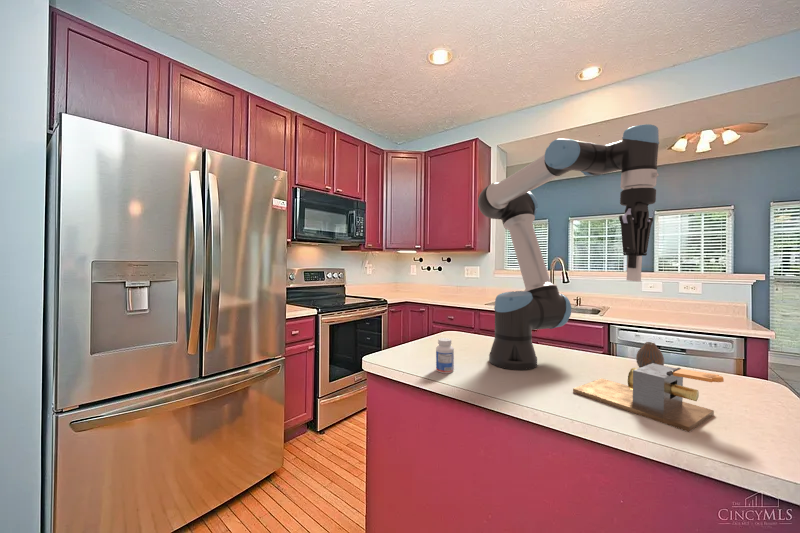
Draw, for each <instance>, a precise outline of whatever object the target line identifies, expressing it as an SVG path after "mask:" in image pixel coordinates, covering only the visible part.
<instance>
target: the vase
mask: <svg viewBox="0 0 800 533" xmlns="http://www.w3.org/2000/svg"><path fill="white" fill-rule="evenodd" d="M635 358H636V363H637V366H638V368H641V367H644V366H646V365H649V364H652V363H654V364H659V365H663V366H665V357H664V354H663V352H662V351H661V350H660V349H659V347H658V346H657V344H656V343H655V342H653V341H652V342H651V341H646V342H644V344H643V346H641V347H640V348H639V349H638V350H637V353H636V357H635Z"/></svg>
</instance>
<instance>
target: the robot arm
mask: <svg viewBox="0 0 800 533" xmlns="http://www.w3.org/2000/svg"><path fill="white" fill-rule="evenodd" d="M659 140H660V139H659V127H658V126H657V125H654V124H649V123H648V124H647V123H646V124H638V125H634V126H631V127H628V128H627V129H625V130H624V131H623V134H622V138H621V140H619V141H615V142H612V143H608V144H599V143H594V142H587V141H581V140H580V141H579V140H575V139H572V138H557V139H554V140H552V141H551V142H550V143H549V145H548V146H547V147H546V149H545V152H544V154H543V155H542V156H540V157H538V158H537V159H535V160H534V161H532V162H530V163H528V164H527V165H526V166H524V167H522V168H520V169H518V170H517V171H516V172H514V173H512V174H511V175H509V176H507V177H506V178H504V179H503V180H501V181H499V182H493V183H490V184H489V185H487V186H486V187H485V188H483V189H482V190H481V192H480V193H479V196H478V199H477V206H478V209H479V212H480V213H481V214H482V215H483V216H485V217H486V218H488V219H492V220H501V221H502V222H501V223H502V225H503V227H504V229H505V230H508V231H509V234H510V238H511V241H512V246H513V249H514V251H515V256H516V259H517V263H518V267H519V270H520V274H521V277H522V280H523V284H524V287H525V289H524V290H516V291H506V292H502V293H499V294H498V295H497V296H496V297H495V299H494V300H495V301H494V308H493V309H494V340H493V343H492V345H491V348H490V351H489V354H488V356H489V357H488V362H489V363H490V364H492V365H493V366H495V367H498V368H502V369H506V370H516V371H519V370H520V371H524V370H525V371H527V370H532V369H535V368H537V367H538V357H537V355H536V351H535V347H534V344H533V341H532V340H533V338H532V336H533V331H535V330H536V331H537V330H544V329H547V330H549V329H550V330H552V329H556V328H561V327H563V326H565V325H566V324H568V321H569V320H570V318H571V315H572V305H571V301H570V299H569V298H568V297H567V296H566V295H564V294H562V293H560V292H559V289H558V285H557V284H554V283H552V281H551V279H550V275H549V273H548V269H547V265H546V263H545V259H544V256H543V253H542V251H541V246H540V243H539V241H538V238H537V234H536V231H535V228H534V225H533V223H534V221H535V219H536V217H535V216H536V215H537V212H538V210H537V209H538V207H539V206H538V200H537V198H536V196H535V195H534V194H533V193H532V192H531V191H533V190H535V189H537V188H539V187H540V186H543V185H544V184H547V183H548V182H549V183H550V181H552V180H555V179H556V178H558V177H561V176H562V175H564V174H566V173H568V172H570V171H577V172H581V173H582V174H583V175H584V176H586V177H592V176H598V177H599V176H601V175H604V174H609V173H612V172H617V171H621V175H620V189H621V191H620V196H619V197H620V198H619V199H620V200H619V204H620V206H623V207H625V209H624V214H620V215H619V217H618V220H619V223H620V229H621V230H620V231H621V232H620V233H621V242H622V254H623V255H622V256H627V261H626V262H627V263H626V264H627V266H626V281H628V282H641V281H642V265H643V264H642V263H643V262H642V261H643V256H647V255H648V248H649V242H650V241H649V240H650V236H651V235H650V234H651V229H652V224H653V222H654V218H653V216H652V217H651V216H650V214H649V212H650V210H649V206H650V205H654V204H655V203H656V202H657V201H656V200H657V189H656V188H655V187H657V177H659V176H660V175H659V173H658V158H659V156H658V155H659V146H660V145H659V144H660V141H659Z"/></svg>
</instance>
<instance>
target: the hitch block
mask: <svg viewBox="0 0 800 533" xmlns="http://www.w3.org/2000/svg"><path fill="white" fill-rule="evenodd" d="M680 369H682V368H681V367H673V366H667V365H664V366H663V365H659V364H654V363H652V364H649V365H646V366H644V367H641V368H639V367H638V368H637V369H635V370H633V390H632V389H630V388H629V386H628V384H627V385H626V384H623V383H618V382H616V381H612V380H609V379H606V378H601V377H600V378H599V379H596V380H594V381H591V382H587V383H585V384H582V385H579V386H576V387H574V388H572V392H573V393H574V394H577V395H580V396H583V397H585V398H589V399H591V400H595V401H597V402H600V403H603V404H606V405H609V406H612V407H614V408H618V409H621V410H623V411H626V412H628V413H629V412H630V413H632V414H636V415H638V416H640V417H644V418H647V419H650V420H652V421H656V422H658V423H661V424H664V425H667V426H670V427H673V428H676V429H678V430H680V431H681V430H682V431H685V432H688V433H690V432H692V430H694V429H695V428H697V427H699V426H700V425H701V424H703V423H704V422H706V421H707V420H708V419H710V418H712V417H713V416H714V415H715V410H713V409H710V408H706V407H702V406H700V405H696V404H692V403H689V402H685V401H684V400H683V399H684V398H682V397H679V396H675V395H671V394H670V383H672V384H676V385H680V386H684V377H678V376H673V372H675V371H677V370H680Z"/></svg>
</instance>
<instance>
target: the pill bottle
mask: <svg viewBox="0 0 800 533" xmlns="http://www.w3.org/2000/svg"><path fill="white" fill-rule="evenodd" d="M437 343H438V345H437V346H436V348H435V361H436V362H435V368H436V372H438V373H441V374H451V373H453V372H454V370H455V369H454V368H455V365H454V364H455V356H454V355H455V353H454V352H455V351H454V349H455V348H454V346H452V338H449V337H440V338H438V339H437Z"/></svg>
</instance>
